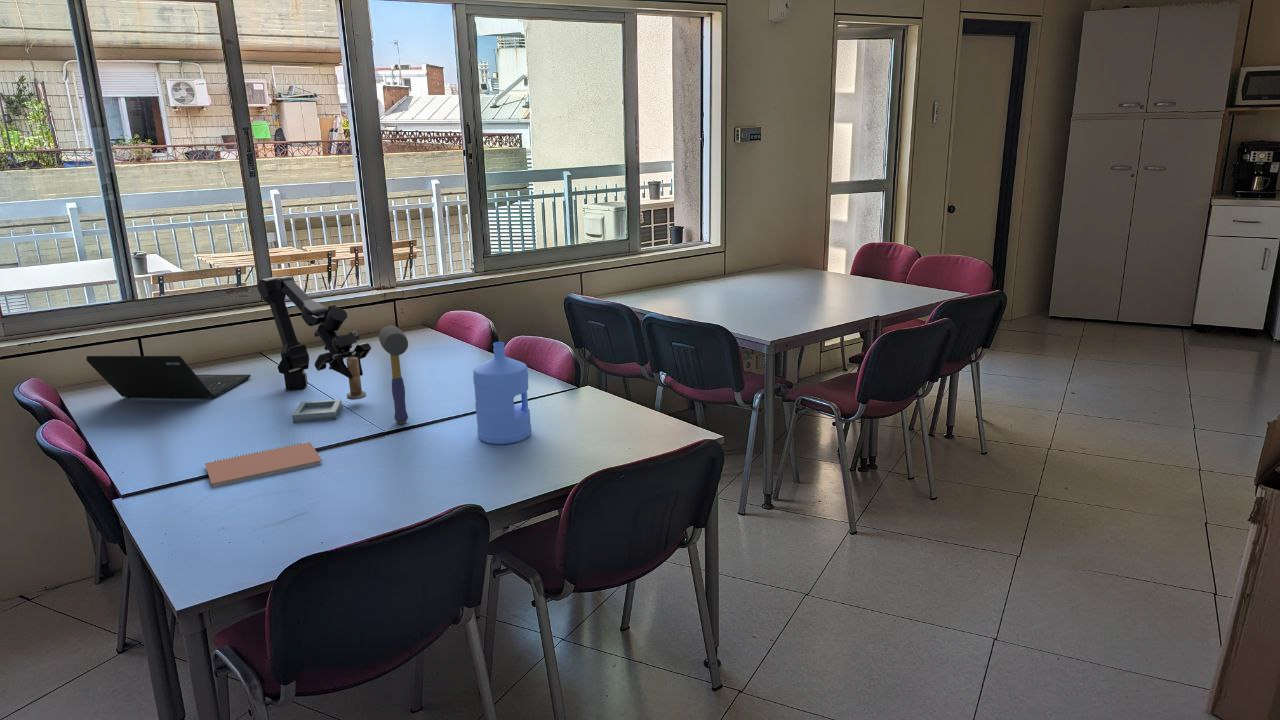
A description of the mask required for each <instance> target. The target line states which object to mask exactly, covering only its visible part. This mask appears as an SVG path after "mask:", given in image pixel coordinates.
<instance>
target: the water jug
mask: <svg viewBox="0 0 1280 720" xmlns="http://www.w3.org/2000/svg"><path fill="white" fill-rule="evenodd" d="M492 345H493V350H492V351H493V357H492V358H489V359H488V360H486V361H483V362H481V363H478V365H476V366H475V367H474V368H473V371H472V373H473V375H472V378H473V381H472V382H473V386H474V397H475V403H474V404H475V405H474V406H475V412H476V413H475V414H476V423H477V429H476V430H477V431H476V432H477V437H478V439H479V440H481V442H484V443H487V444H491V445H509V444H510V445H511V444H514V443H515V444H516V443H519V442H521V441H524V440H526V439H527V438H529V436H530V435H531V433H532V425H531V410H530V408H529V403H528V402H529V401H528V399H529V398H528V390H529V371H528V366H527V364H526V363H524V362H522V361H520V360H516V359H514V358H511V357H508V356H506V354H505V353H506V349H505V342H504V341H503V342H502V341H495V342H493V344H492ZM519 395H520V397H521V404H516V403H515V402H514V401H515V400H514V399H515V397H516V396H519Z"/></svg>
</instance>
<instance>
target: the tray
mask: <svg viewBox="0 0 1280 720" xmlns="http://www.w3.org/2000/svg"><path fill="white" fill-rule="evenodd" d="M342 401H343V400H342V398H340V399H339V398H338V399H325V400H324V399H323V400H312V401H300V403H299V404H298V405H297V407H296V408H295V410H294V411H293V413H292V421H293V423H294V424H295V423H307V422H319V421H320V420H322V421H331V420H332V419H335V420H337V418H338V415H340V411H341V410H342V408H343V402H342ZM332 421H333V420H332Z"/></svg>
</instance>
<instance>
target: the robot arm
mask: <svg viewBox="0 0 1280 720" xmlns="http://www.w3.org/2000/svg"><path fill="white" fill-rule="evenodd" d="M258 281H259V282H258V283H257V284H256V285H257V288H256V289H257V291H258V292H259V294H260V296H261V298H262V299H263V301H264V302H266V304H268V305H269V307H270V310H271V314H272V317H273V319H274V323H275V325H276V329H277V331H278V335H279V338H280V340H281V344H282V347H281V352H280V356H281V357H280V358H281V360H280V362H279V364H278V365H277V370H278V372H279V374H283V378H284V385H285V388H284V391H299V390H305V389H306V388H307V386H308V384H309V382H308V376H307V373H306V372H305V370H308V369H309V366H310V353H308V349H307V346H306V344H305V343H304V344H301V342H300V341H298V339H297V334H296V332H295V329H294V327H293V323H292V320H291V317H290V313H289V310H288V307H287V305H286V301H285V300H286V297H287V298H288V299H289V300H290V301H291V302H292V304H294V305H295V306H296V307H297V309H298V310H299V311H300V312H301V315H300V316H301V319H302V320H303V322H305V324H306V325H307V326H308V327H314V326H317V328H314V338H317V337H319V339H320V340H321V341H322V343H323V344H324V348H323V349H324V350H325V351H328V352H325V353H320V354H319V355H318V357H317V358H316V360H315V362H314V367H315V369H316V370H317V372H319V371H322V370H325V369H327V364H329V367H328V370H330V371H335V372H337V373H339V374H341V375H343V376H345V377H346V378H348V379H349V378H350V379H352V378H353V376H352V375H351V373H350V371H349V370H348V368H347V364H345V362H344V359H347V358H350V357H358V361H359V370H360V377H362V376H363V375H364V372H363V369H362V368H363V367H362V363H361V360H363V359H364V358H366V357H367V356H368V354H369V353H370V352H371V350H372V346H371V345H370V343H368V342H362V343H359V344H357V345H356V346H355V347H354V349H352V348H353V344H356V343H358V340H360V339H361V337H360V334H359V332H358V331H357V330H355V329H354V330H351V331H350V332H349V333H348V334H340V333H339V331H340V330H341V328H342V326H344V323H345V321H346V320H347V319H348V313H347V312H346V310H345V309H344V308H342V307H339V306H336V304H330V305H328V307H326V306H325V305H323V304H322V303H321V302H318V301H315V300H312V299H311V297H309V295H308V294H307V293H306V292H305V291H304V290H303V289H302V288H301V287H300V286H299V285H298V284H297V283H296V282H295V280H294V277H292V276H289V275H287V276H281V277H280V276H273V277H268V278H262V279H260V280H258Z"/></svg>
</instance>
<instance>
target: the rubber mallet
mask: <svg viewBox="0 0 1280 720" xmlns="http://www.w3.org/2000/svg"><path fill="white" fill-rule="evenodd" d="M378 339H379V340H378V341H379V343H380V345H381V347H382V349H383V350H384V351H385V352H386V353H387V354H389V355H390V365H391V375H392V379H391V393H392V398H393V404H394V405H393V406H394V417H393V418H394V420H395V422H396V423H397V424H399V425H401V424H406V423H407V421H408V419H409V416H408V412H407V407H406V406H407V405H406V389H405V383H404V378H403V377H402V372H401V371H402V370H401V363H400V356H401V355H403V354H404V353H406V351H407V350H408V347H409V341H408V338H407V337H406V333H404V331H403V330H402V329H400V327H397V326H396V325H390V324H389V325H386V326H384V327H382V328H381V329H380V330H379V333H378Z"/></svg>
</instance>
